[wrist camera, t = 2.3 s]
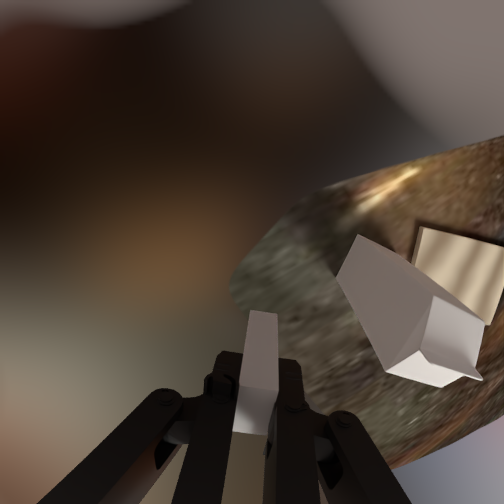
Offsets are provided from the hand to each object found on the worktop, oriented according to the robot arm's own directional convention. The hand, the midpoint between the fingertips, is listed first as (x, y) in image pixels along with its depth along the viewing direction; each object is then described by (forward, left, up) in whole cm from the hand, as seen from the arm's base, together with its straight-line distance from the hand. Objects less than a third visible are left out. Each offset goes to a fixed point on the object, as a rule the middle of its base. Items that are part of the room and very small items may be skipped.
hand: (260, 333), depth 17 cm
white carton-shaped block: (-12, 0, -19) cm, 23 cm away
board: (-27, 0, -19) cm, 33 cm away
